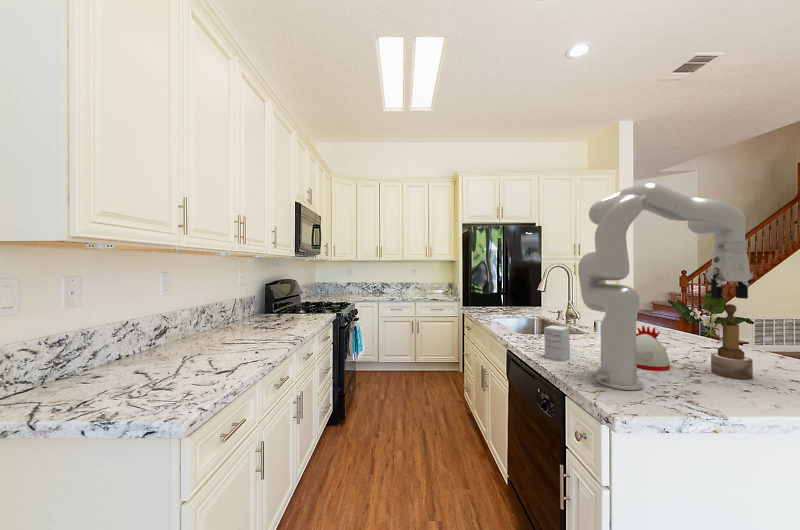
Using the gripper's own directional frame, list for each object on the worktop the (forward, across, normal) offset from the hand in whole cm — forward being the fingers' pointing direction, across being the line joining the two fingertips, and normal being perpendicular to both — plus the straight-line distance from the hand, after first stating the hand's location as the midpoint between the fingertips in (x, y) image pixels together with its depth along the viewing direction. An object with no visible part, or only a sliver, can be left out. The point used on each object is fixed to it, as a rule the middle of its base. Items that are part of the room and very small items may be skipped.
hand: (729, 298), depth 112 cm
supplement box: (+27, -45, +28) cm, 60 cm away
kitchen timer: (+27, -18, +14) cm, 35 cm away
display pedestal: (+26, +1, 0) cm, 26 cm away
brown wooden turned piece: (+20, 0, 0) cm, 20 cm away
